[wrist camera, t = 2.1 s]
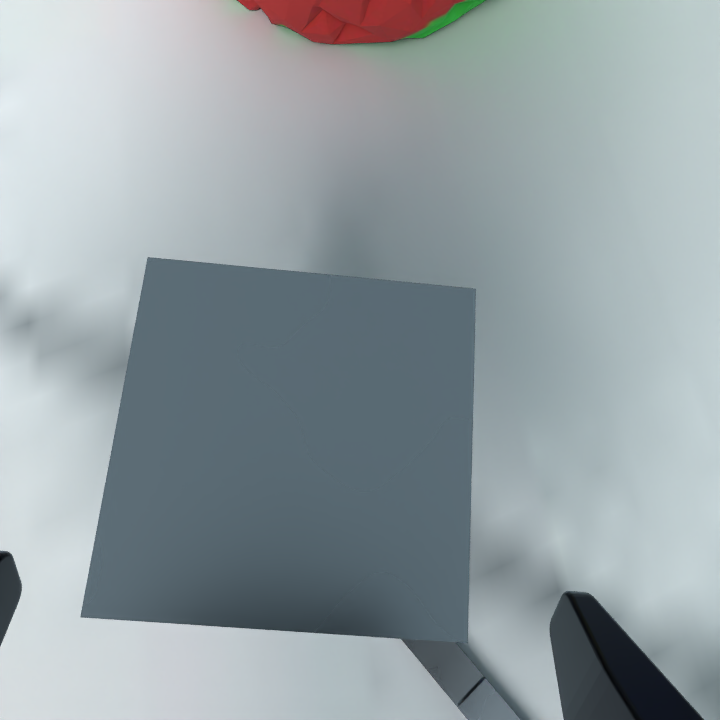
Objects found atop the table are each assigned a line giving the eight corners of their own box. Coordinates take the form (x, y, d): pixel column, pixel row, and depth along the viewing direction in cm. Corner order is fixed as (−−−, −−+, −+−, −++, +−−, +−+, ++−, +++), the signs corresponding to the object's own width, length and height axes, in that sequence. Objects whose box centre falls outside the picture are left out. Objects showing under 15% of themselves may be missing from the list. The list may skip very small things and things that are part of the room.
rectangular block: (368, 549, 18) (468, 643, 6) (246, 540, 18) (80, 617, 6) (376, 428, 19) (475, 288, 7) (261, 418, 19) (147, 257, 7)
